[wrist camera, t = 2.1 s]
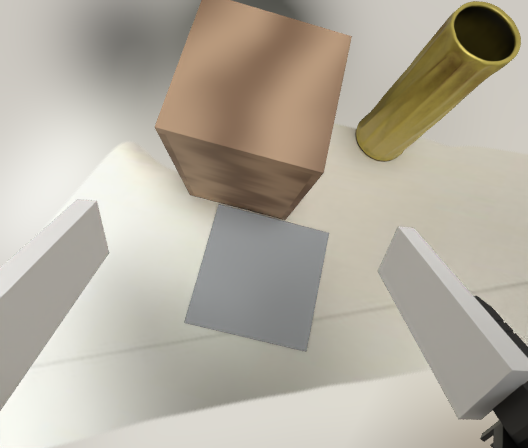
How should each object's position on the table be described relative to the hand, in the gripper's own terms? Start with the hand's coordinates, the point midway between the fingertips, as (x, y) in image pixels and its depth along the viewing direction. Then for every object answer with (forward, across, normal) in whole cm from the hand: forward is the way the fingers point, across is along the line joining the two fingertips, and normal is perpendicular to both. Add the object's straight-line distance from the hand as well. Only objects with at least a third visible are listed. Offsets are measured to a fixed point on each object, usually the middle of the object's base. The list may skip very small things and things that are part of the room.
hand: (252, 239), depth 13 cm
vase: (+23, +15, 0) cm, 27 cm away
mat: (+10, +2, -12) cm, 16 cm away
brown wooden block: (+19, 0, -4) cm, 19 cm away
